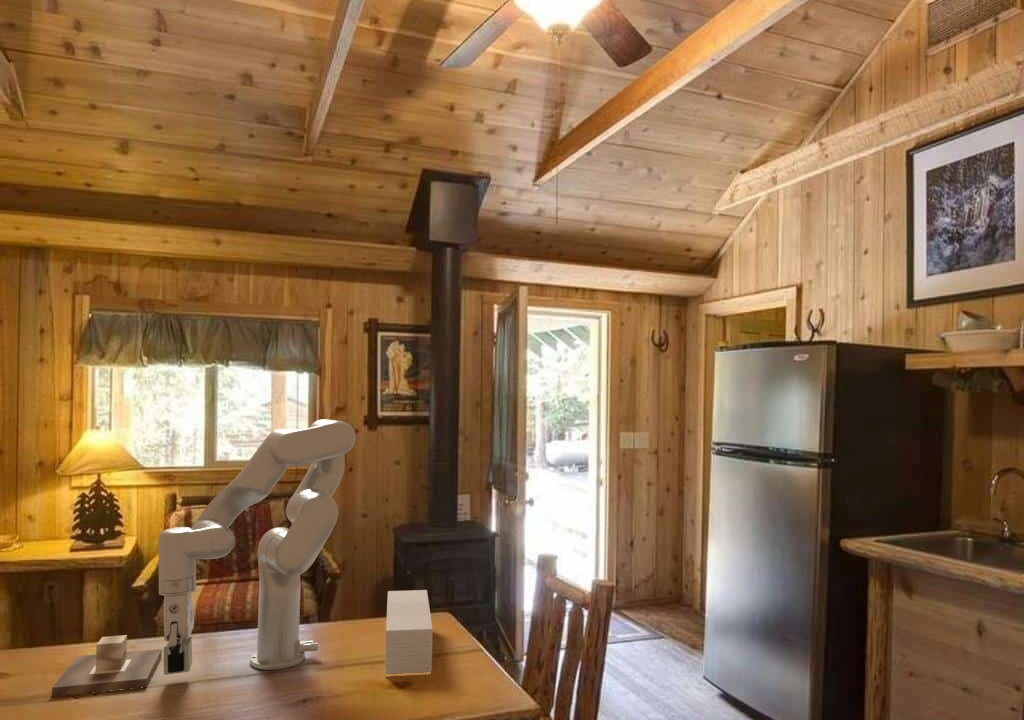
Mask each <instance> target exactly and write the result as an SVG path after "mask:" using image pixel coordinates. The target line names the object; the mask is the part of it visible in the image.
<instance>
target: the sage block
mask: <svg viewBox="0 0 1024 720" xmlns="http://www.w3.org/2000/svg"><path fill="white" fill-rule="evenodd" d="M177 639H178V638H177ZM165 641H166V640H165ZM192 643H193V637H192V636H191V635H190V637H189V638H188V639H185V638H183V652H184V670H183V671H181V672H173V673H168V644H169V641H166V642H165V644H164V646H163V675H164V676H166V675H174V674H181V673H189V672H190V669H191V666H192V663H193V644H192ZM177 644H179V645H180V641H179V642H177Z"/></svg>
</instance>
